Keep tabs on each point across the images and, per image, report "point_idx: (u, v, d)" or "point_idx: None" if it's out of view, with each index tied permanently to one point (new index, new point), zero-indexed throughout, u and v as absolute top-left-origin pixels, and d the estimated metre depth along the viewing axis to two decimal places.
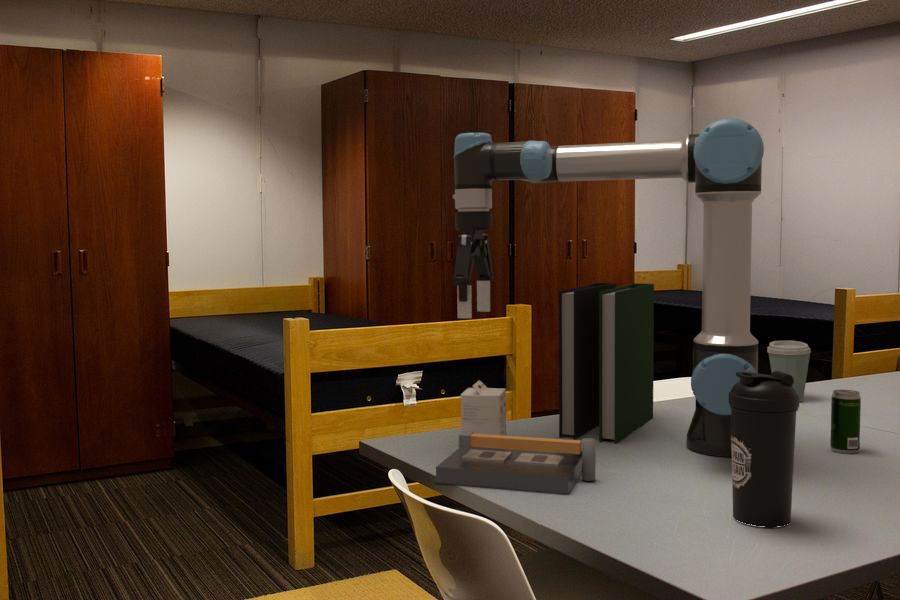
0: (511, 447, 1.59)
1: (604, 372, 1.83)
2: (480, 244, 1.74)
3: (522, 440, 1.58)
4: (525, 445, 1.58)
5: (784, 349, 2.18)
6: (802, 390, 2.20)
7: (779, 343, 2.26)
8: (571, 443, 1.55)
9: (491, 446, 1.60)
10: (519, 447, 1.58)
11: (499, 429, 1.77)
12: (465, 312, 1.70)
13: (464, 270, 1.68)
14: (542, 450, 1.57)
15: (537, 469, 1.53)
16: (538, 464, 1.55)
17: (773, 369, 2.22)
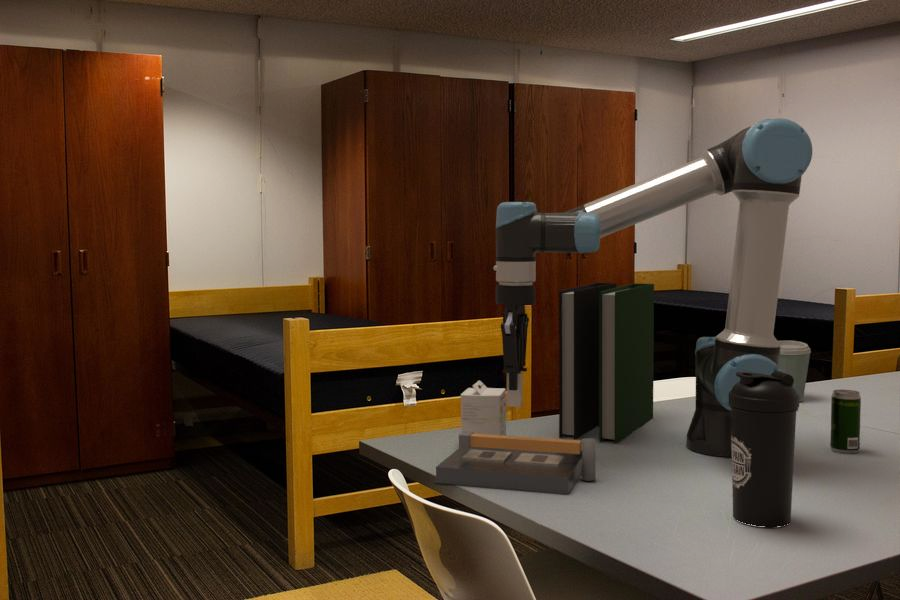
0: (511, 447, 1.59)
1: (604, 372, 1.83)
2: (523, 321, 1.63)
3: (522, 440, 1.58)
4: (525, 445, 1.58)
5: (784, 349, 2.18)
6: (802, 390, 2.20)
7: None
8: (571, 443, 1.55)
9: (491, 446, 1.60)
10: (519, 447, 1.58)
11: (499, 429, 1.77)
12: (515, 400, 1.65)
13: (514, 361, 1.61)
14: (542, 450, 1.57)
15: (537, 469, 1.53)
16: (538, 464, 1.55)
17: None
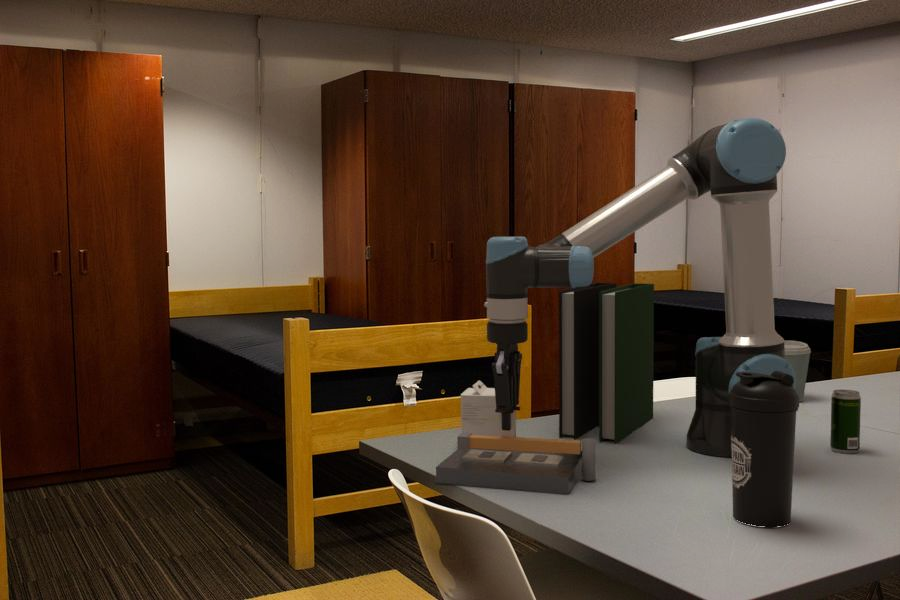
0: (510, 448, 1.58)
1: (604, 372, 1.83)
2: (515, 359, 1.58)
3: (522, 441, 1.58)
4: (525, 446, 1.58)
5: None
6: (802, 390, 2.20)
7: None
8: (571, 443, 1.55)
9: (490, 447, 1.59)
10: (519, 448, 1.58)
11: (499, 429, 1.77)
12: None
13: (506, 401, 1.56)
14: (542, 451, 1.57)
15: (537, 469, 1.53)
16: (538, 464, 1.55)
17: None
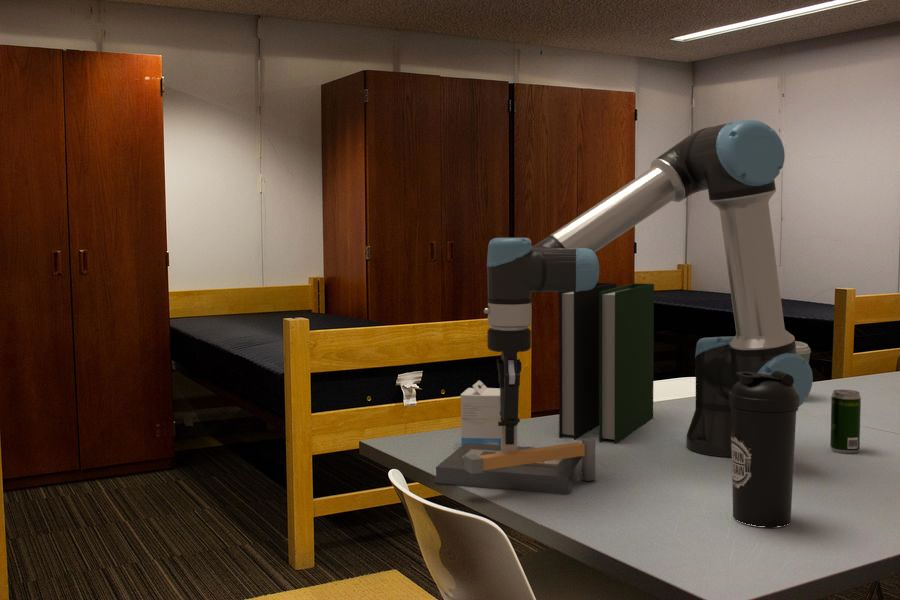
0: (523, 462, 1.49)
1: (604, 372, 1.83)
2: (520, 368, 1.49)
3: (533, 452, 1.50)
4: (536, 457, 1.50)
5: None
6: None
7: None
8: (577, 446, 1.53)
9: (503, 465, 1.47)
10: (530, 460, 1.49)
11: (499, 429, 1.77)
12: None
13: (516, 414, 1.47)
14: (552, 459, 1.51)
15: (537, 469, 1.53)
16: (538, 464, 1.55)
17: None
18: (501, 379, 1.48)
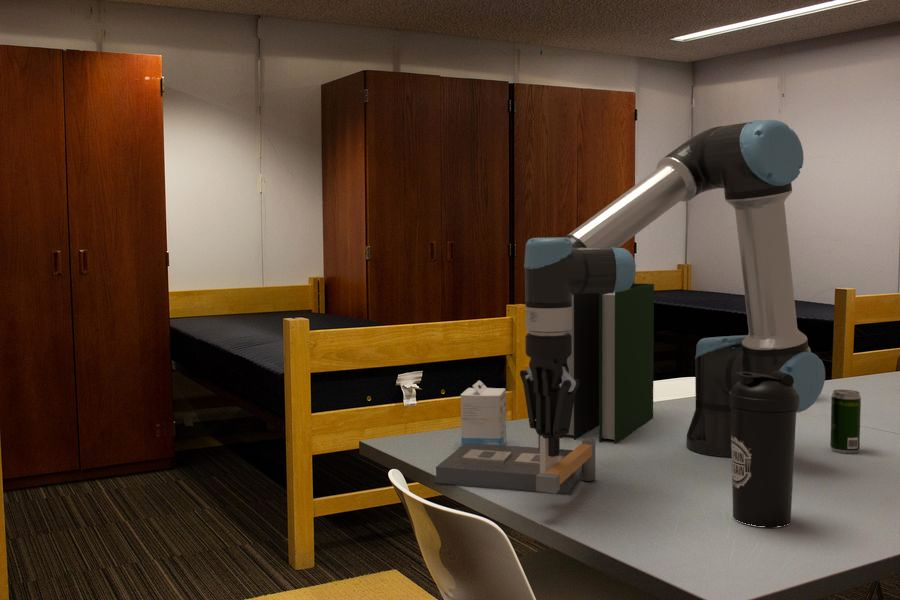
0: (571, 472, 1.42)
1: (604, 372, 1.83)
2: None
3: (574, 460, 1.44)
4: (575, 465, 1.45)
5: None
6: None
7: None
8: (589, 447, 1.52)
9: (564, 479, 1.39)
10: (573, 469, 1.44)
11: (499, 429, 1.77)
12: None
13: (568, 422, 1.39)
14: (581, 464, 1.48)
15: (537, 469, 1.53)
16: (538, 464, 1.55)
17: None
18: (548, 388, 1.39)
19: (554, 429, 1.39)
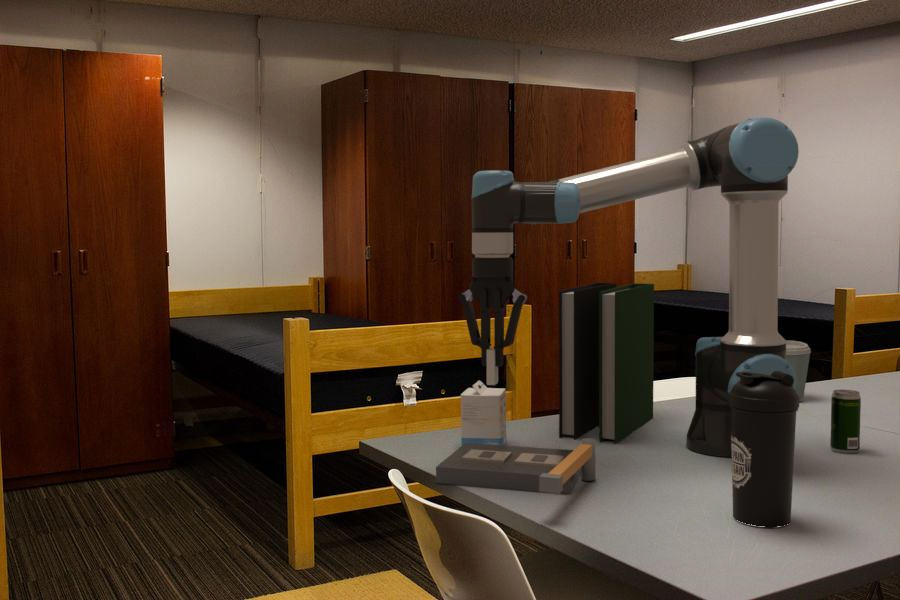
0: (572, 472, 1.42)
1: (604, 372, 1.83)
2: (482, 295, 1.57)
3: (576, 460, 1.44)
4: (577, 465, 1.45)
5: None
6: (802, 390, 2.20)
7: None
8: (589, 447, 1.52)
9: (566, 479, 1.39)
10: (575, 469, 1.44)
11: (499, 429, 1.77)
12: None
13: None
14: (582, 464, 1.48)
15: (537, 469, 1.53)
16: (538, 464, 1.55)
17: None
18: None
19: None
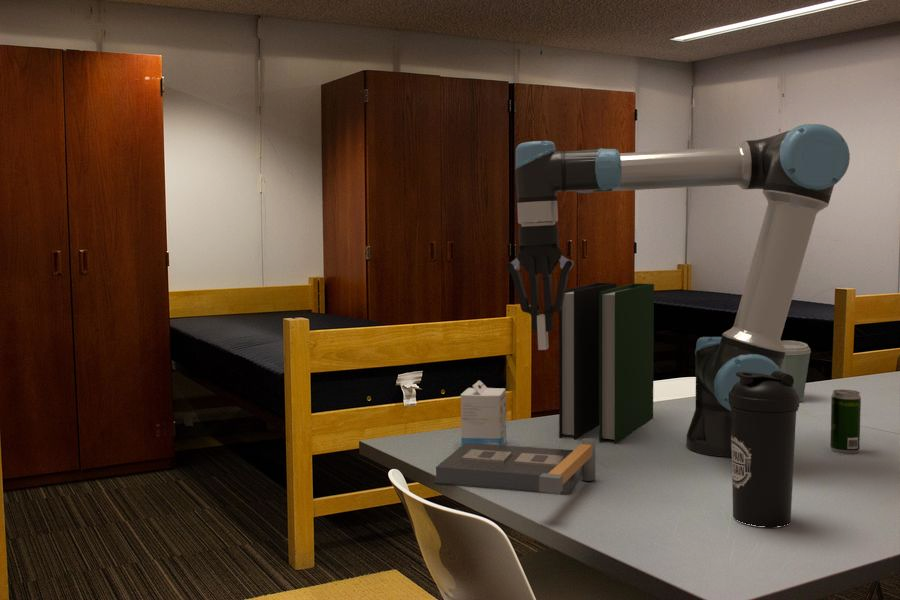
0: (572, 472, 1.42)
1: (604, 372, 1.83)
2: (530, 262, 1.62)
3: (576, 460, 1.44)
4: (577, 465, 1.45)
5: None
6: (802, 390, 2.20)
7: None
8: (589, 447, 1.52)
9: (566, 479, 1.39)
10: (575, 469, 1.44)
11: (499, 429, 1.77)
12: None
13: None
14: (582, 464, 1.48)
15: (537, 469, 1.53)
16: (538, 464, 1.55)
17: None
18: None
19: (527, 305, 1.66)
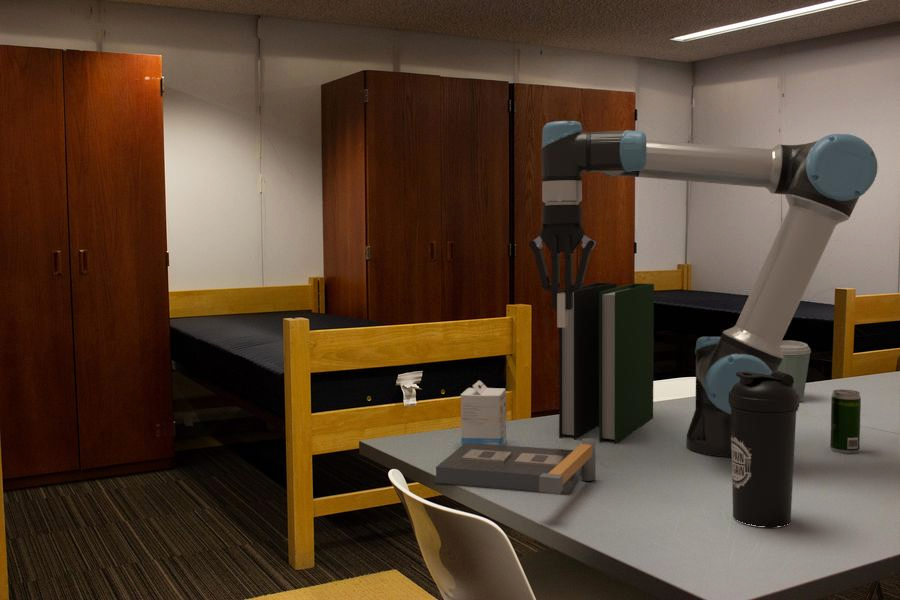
0: (572, 472, 1.42)
1: (604, 372, 1.83)
2: (553, 241, 1.64)
3: (576, 460, 1.44)
4: (577, 465, 1.45)
5: (784, 349, 2.18)
6: (802, 390, 2.20)
7: None
8: (589, 447, 1.52)
9: (566, 479, 1.39)
10: (575, 469, 1.44)
11: (499, 429, 1.77)
12: None
13: None
14: (582, 464, 1.48)
15: (537, 469, 1.53)
16: (538, 464, 1.55)
17: None
18: None
19: (548, 283, 1.69)
